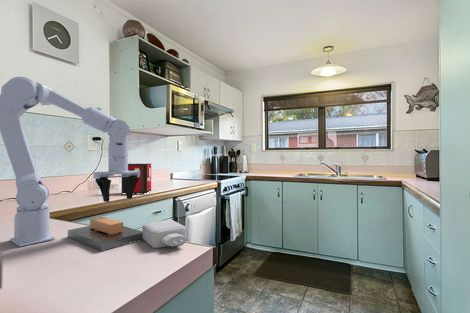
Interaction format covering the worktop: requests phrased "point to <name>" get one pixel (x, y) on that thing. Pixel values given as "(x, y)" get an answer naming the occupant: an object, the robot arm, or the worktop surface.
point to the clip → (106, 225)
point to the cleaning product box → (140, 178)
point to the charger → (164, 233)
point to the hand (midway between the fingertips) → (118, 200)
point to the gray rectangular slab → (104, 237)
